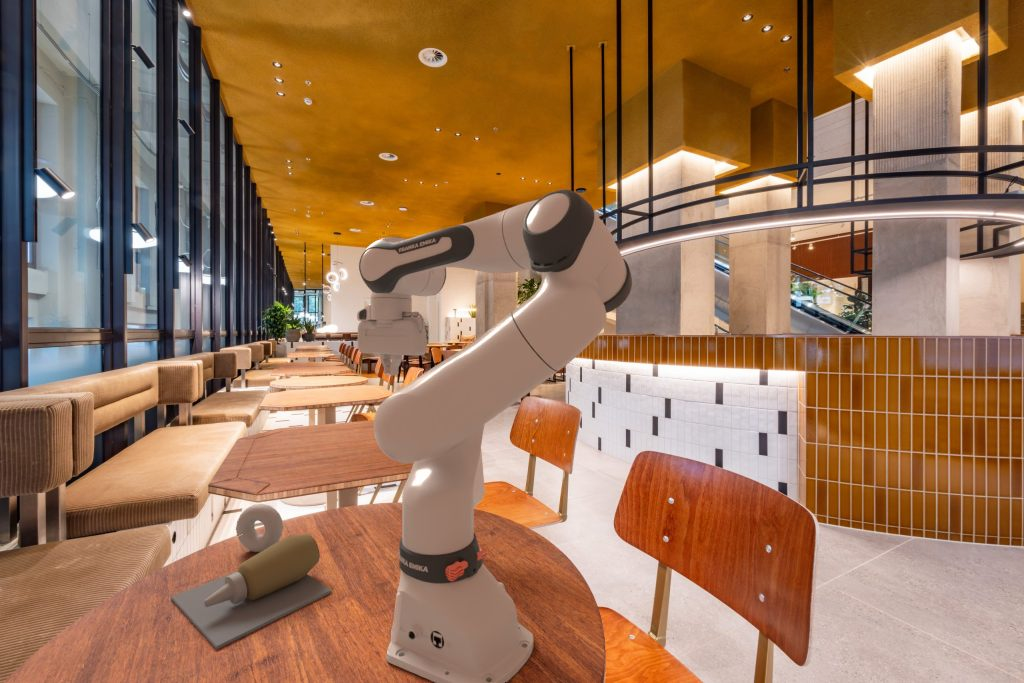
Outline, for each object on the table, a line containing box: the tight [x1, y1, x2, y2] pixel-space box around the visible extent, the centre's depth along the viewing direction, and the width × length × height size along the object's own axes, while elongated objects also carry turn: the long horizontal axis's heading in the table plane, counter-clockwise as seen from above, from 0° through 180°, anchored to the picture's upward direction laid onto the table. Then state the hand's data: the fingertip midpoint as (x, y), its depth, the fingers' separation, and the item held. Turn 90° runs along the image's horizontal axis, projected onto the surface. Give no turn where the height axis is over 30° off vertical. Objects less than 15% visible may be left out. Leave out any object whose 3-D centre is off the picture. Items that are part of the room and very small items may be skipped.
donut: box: [235, 503, 284, 553], centre depth 93 cm, size 10×4×10 cm, turn 83°
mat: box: [170, 571, 333, 650], centre depth 77 cm, size 20×18×1 cm
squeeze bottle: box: [204, 533, 321, 607], centre depth 77 cm, size 8×8×18 cm
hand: (391, 374), depth 98 cm, fingers closed
